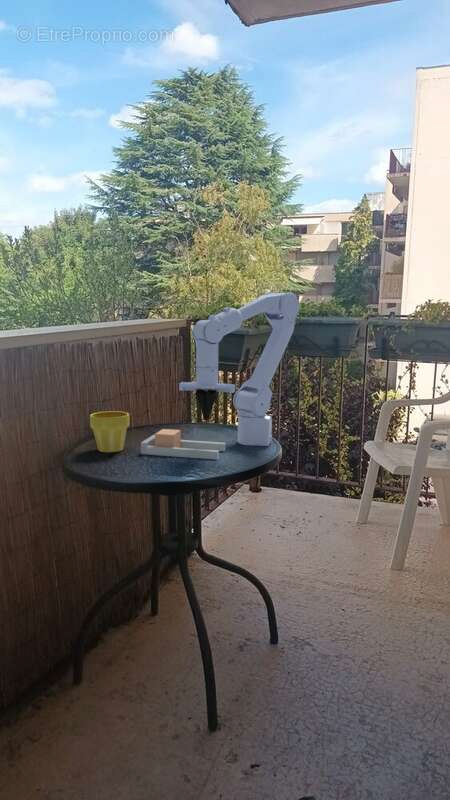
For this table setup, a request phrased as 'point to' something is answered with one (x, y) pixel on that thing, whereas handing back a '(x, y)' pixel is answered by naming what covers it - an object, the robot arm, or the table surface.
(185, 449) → the chute
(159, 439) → the block
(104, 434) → the plant pot
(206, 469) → the table surface
